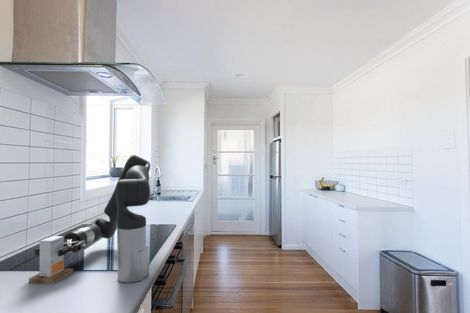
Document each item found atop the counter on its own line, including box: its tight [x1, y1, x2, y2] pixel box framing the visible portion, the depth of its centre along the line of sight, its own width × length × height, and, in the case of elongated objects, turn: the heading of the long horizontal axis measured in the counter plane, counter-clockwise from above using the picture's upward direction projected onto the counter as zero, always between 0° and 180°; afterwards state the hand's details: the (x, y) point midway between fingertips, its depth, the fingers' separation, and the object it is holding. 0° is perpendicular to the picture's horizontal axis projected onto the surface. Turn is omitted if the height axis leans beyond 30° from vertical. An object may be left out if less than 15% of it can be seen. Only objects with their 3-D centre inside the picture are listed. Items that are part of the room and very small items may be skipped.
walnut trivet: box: [28, 267, 74, 284], centre depth 95 cm, size 9×9×1 cm
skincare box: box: [39, 235, 65, 277], centre depth 95 cm, size 6×4×12 cm
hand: (47, 253), depth 93 cm, fingers open, 8 cm apart
